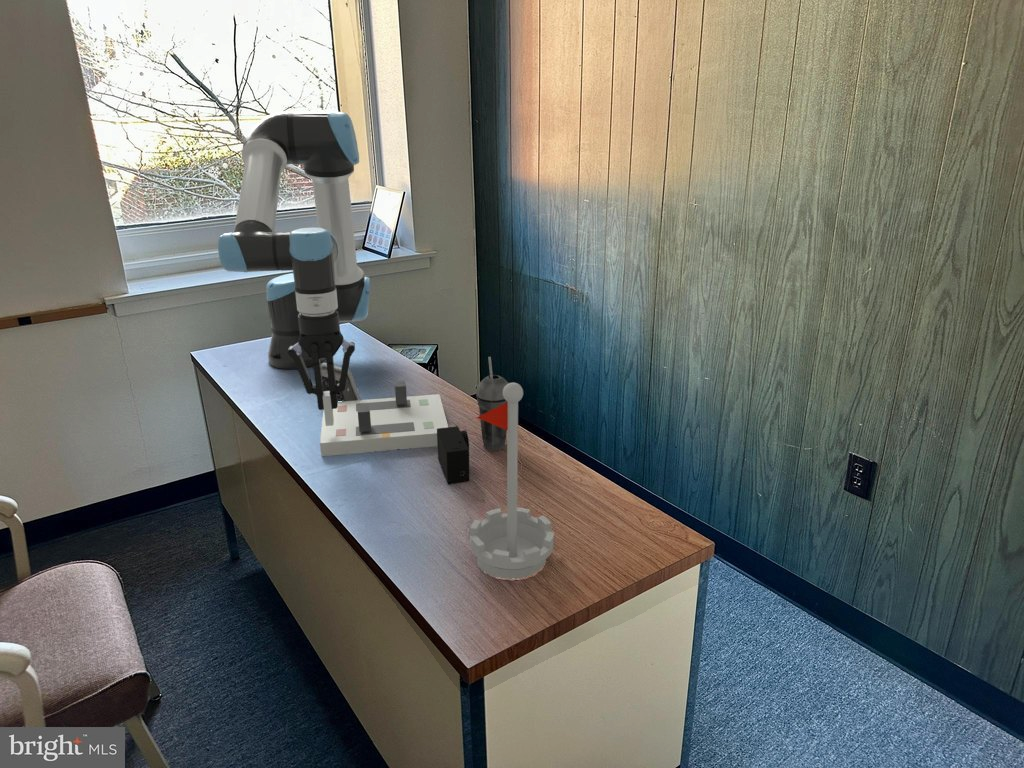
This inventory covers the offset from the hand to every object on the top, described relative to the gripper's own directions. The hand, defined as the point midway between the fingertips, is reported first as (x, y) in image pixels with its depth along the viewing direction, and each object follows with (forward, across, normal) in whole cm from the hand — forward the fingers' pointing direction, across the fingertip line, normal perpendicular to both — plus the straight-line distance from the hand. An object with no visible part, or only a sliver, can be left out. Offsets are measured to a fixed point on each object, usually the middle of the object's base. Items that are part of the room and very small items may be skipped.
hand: (329, 422), depth 142 cm
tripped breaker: (+2, +7, 0) cm, 7 cm away
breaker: (+2, +15, +12) cm, 19 cm away
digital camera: (+6, +24, -14) cm, 29 cm away
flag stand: (+6, +29, -44) cm, 53 cm away
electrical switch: (+6, +1, +23) cm, 24 cm away
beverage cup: (+6, +33, -6) cm, 34 cm away
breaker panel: (+5, +11, +6) cm, 14 cm away
